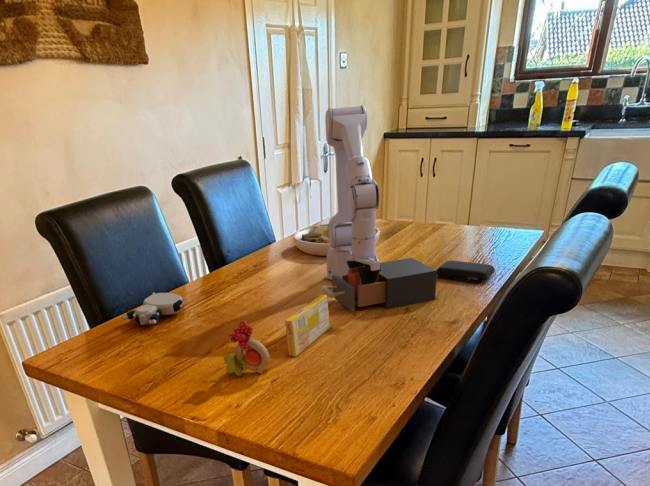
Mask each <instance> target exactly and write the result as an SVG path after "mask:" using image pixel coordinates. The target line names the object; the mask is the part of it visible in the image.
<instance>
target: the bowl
mask: <svg viewBox="0 0 650 486" xmlns="http://www.w3.org/2000/svg"><path fill="white" fill-rule="evenodd" d="M343 224H352V222H347V223H339V224H337V225H343ZM379 238H380V229H379V228H378V227H376V228H375V245H377V243H378V241H379ZM293 242H294V245H295V246H296V247H297V248H298V249H299V251H301V252H304V253H305V254H309V255H314V256H320V257H327V253H328V250H329V249H330V248H331V246H330V244H329V223H324V224H323V223H322V224H316V225H311V226H307V227H303V228H302V229H299V230H297V231H296V232H294V233H293Z"/></svg>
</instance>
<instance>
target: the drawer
mask: <svg viewBox="0 0 650 486" xmlns="http://www.w3.org/2000/svg"><path fill="white" fill-rule="evenodd" d="M321 291H322V292H323V293H324V294H325V295H327V297H329V298H330V299H335V300H337V301H338V302H339V303H340V304H341V305H343V306H344V307H345V308H346V309H347V310H348V311H350V312H352V311H355V310H356V309H355V306H356V307H358V308H360V307H366V306H372V305H373V306H374V305H378V304H380V303H383V302H386V281H385V280H384V279H382V278H380V277H379V282H376V283H370V284H364V285H359V286H357V298H354V287H353V286H351V285H350V284H349V283H348V274H345V275H342V278H340V277H339V276H338V275H332V280H331V285H330V286H326V285H322V286H321Z"/></svg>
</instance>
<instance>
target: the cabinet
mask: <svg viewBox="0 0 650 486" xmlns="http://www.w3.org/2000/svg"><path fill="white" fill-rule="evenodd" d="M380 267H381V271H380V272H379V277H380V278H382V279H384V280H385V281H386V302H383V303H379V304H380V305H381V306H383V307H384V308H386V309H392V308H397V307H402V306H408V305H413V304H418V303H424V302H428V301H434V300H436V289H437V280H438V279H437V278H438V275H437V269H435V268H433V267H431V266H430V265H428V264H425V263H423V262H421V261H419V260H416V259H415V258H413V257H408V258H407V257H406V258H402V259H395V260H389V261H384V262H380Z"/></svg>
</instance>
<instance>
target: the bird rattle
mask: <svg viewBox="0 0 650 486" xmlns="http://www.w3.org/2000/svg"><path fill="white" fill-rule="evenodd" d="M253 331H254V328H253V327H252V326H251V325H248V324H247V322H246V320H245V319H244V320H241V321H240V323H239V324H238V326H237V327H234V329H233V333H231V332H230V333H229V332H228V333H226V335H227V336H228V337H230V338H229V339H230V342H231V343H233V344H234V343H236V342H237V344H236V346H235V352H234V353H229V354H226V355H224V358H223V360H224V363H225V364H226V373H227V374H228V375H231V374H233V373H234V374H235V375H236V377H240V376H242V374H243V373H242V372H243V371H242V369H244V368H246V369H247V370H250V371H253V372H256V373H258V374H263V373H264V372H265V371H264V370H265V369H266V368H267V366H268V365H269V362H270V354H269V351H268V349H267V348H266V347H265V346H264V344H263V343H261V341H258V340H257V339H254V338H252V337H251V336H252V334H253ZM246 349H247V350H246Z"/></svg>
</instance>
